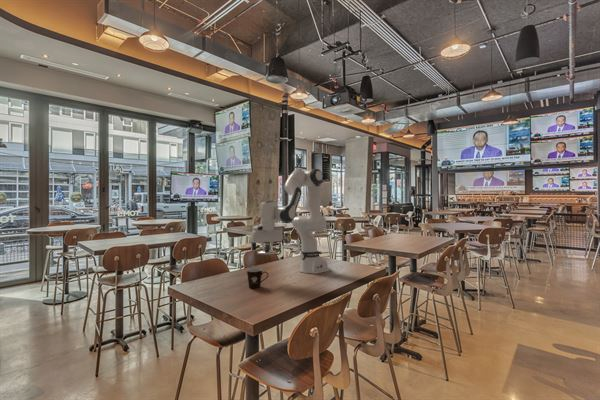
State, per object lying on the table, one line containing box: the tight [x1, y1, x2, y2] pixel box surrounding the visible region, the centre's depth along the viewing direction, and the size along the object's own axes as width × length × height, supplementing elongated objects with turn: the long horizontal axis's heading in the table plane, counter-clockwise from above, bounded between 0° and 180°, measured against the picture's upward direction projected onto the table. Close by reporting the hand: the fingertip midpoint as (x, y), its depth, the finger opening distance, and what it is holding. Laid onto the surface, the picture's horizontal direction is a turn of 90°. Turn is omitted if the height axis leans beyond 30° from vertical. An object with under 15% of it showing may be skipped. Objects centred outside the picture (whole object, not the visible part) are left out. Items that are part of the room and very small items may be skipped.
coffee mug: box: [246, 267, 269, 290], centre depth 174 cm, size 12×9×10 cm
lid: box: [256, 244, 278, 255], centre depth 185 cm, size 12×12×5 cm
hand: (267, 249), depth 185 cm, fingers closed on lid, 3 cm apart
